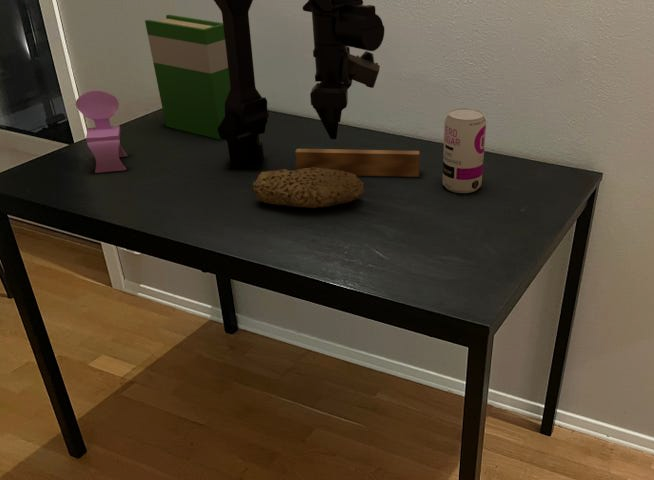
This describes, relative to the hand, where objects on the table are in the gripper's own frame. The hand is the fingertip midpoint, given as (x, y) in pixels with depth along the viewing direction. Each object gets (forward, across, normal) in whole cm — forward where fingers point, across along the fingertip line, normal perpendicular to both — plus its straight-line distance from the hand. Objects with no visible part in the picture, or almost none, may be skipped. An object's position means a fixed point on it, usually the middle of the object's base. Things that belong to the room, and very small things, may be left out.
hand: (335, 130), depth 134 cm
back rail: (+14, +13, -3) cm, 19 cm away
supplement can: (+14, +7, -25) cm, 29 cm away
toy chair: (+14, +17, +51) cm, 55 cm away
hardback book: (+14, +40, +36) cm, 56 cm away
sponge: (+14, -2, +5) cm, 15 cm away
